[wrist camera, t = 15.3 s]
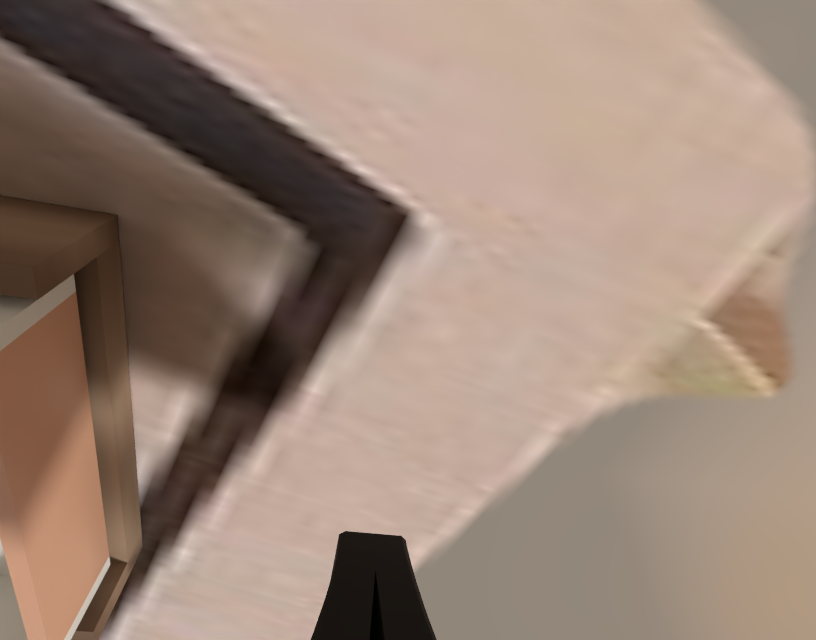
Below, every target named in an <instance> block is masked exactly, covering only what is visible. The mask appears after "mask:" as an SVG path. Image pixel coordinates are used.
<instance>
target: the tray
mask: <svg viewBox="0 0 816 640" xmlns="http://www.w3.org/2000/svg"><path fill="white" fill-rule="evenodd" d="M109 566H110V558H109V550H108V542H107V534H106V526H105V518H104V510H103V502H102V494H101V486H100V478H99V470H98V462H97V454H96V446H95V438H94V430H93V422H92V414H91V406H90V399H89V391H88V383H87V375H86V367H85V359H84V351H83V343H82V335H81V327H80V319H79V311H78V303H77V295H76V287H75V279H74V274H73V275H71V276H70V277H69V278H67V279H66V280H65V281H63V282H62V283H60V284H59V285H58V286H56V287H55V288H54V289H52V290H51V291H49V292H48V293H47V294H45V295H44V296H43V297H41V298H40V299H38V300H36V299H29V298H22V297H15V296H8V295H1V294H0V640H71V639H72V637H73V635H74V633H75V631H76V629H77V627H78V625H79V623H80V621H81V620H82V618H83V616H84V614H85V612H86V610H87V608H88V606H89V604H90V602H91V601H92V599H93V597H94V595H95V593H96V591H97V589H98V587H99V585H100V583H101V582H102V580H103V578H104V576H105V574H106V572H107V570H108V568H109Z"/></svg>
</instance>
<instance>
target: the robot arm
mask: <svg viewBox="0 0 816 640" xmlns="http://www.w3.org/2000/svg"><path fill="white" fill-rule="evenodd" d="M311 640H436V637H435V635H434V632H433V629H432V627H431V624H430V621H429V619H428V616H427V613H426V610H425V607H424V604H423V601H422V598H421V595H420V592H419V589H418V586H417V583H416V579H415V576H414V572H413V569H412V565H411V562H410V558H409V554H408V550H407V545H406V540H405V539H404V538H403V537H402V536H395V535H383V534H371V533H359V532H348V531H345V532H343V533H341V534H339V539H338V544H337V549H336V555H335V560H334V566H333V571H332V576H331V581H330V585H329V588H328V591H327V595H326V598H325V601H324V604H323V607H322V610H321V612H320V615H319V618H318V621H317V624H316V627H315V630H314V633H313V635H312V638H311Z"/></svg>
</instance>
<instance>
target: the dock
mask: <svg viewBox="0 0 816 640" xmlns="http://www.w3.org/2000/svg"><path fill="white" fill-rule="evenodd" d="M73 274H74V279H75V287H76V295H77V303H78V311H79V319H80V327H81V335H82V343H83V351H84V359H85V367H86V375H87V383H88V391H89V399H90V406H91V414H92V422H93V430H94V438H95V446H96V454H97V462H98V470H99V478H100V486H101V494H102V502H103V510H104V518H105V526H106V534H107V542H108V550H109V558H110V566H109V568H108V570H107V572H106V574H105V576H104V578H103V580H102V582H101V583H100V585H99V587H98V589H97V591H96V593H95V595H94V597H93V599H92V601H91V602H90V604H89V606H88V608H87V610H86V612H85V614H84V616H83V618H82V620H81V621H80V623H79V625H78V627H77V629H76V631H75V633H74V635H73V637H72V639H71V640H98V639H99V637H100V635H101V633H102V630H103V628H104V626H105V624H106V622H107V620H108V618H109V616H110V614H111V612H112V610H113V608H114V605H115V603H116V601H117V599H118V597H119V595H120V593H121V591H122V589H123V587H124V585H125V583H126V580H127V578H128V576H129V574H130V572H131V570H132V568H133V566H134V564H135V562H136V560H137V558H138V555H139V553H140V551H141V549H142V547H143V544H142V531H141V518H140V505H139V492H138V480H137V467H136V454H135V441H134V428H133V415H132V402H131V389H130V376H129V363H128V350H127V337H126V324H125V311H124V298H123V285H122V272H121V259H120V247H119V234H118V221H117V215H113V214H107V213H101V212H95V211H89V210H83V209H77V208H71V207H65V206H59V205H53V204H47V203H41V202H35V201H29V200H23V199H17V198H11V197H5V196H0V294H1V295H8V296H15V297H22V298H29V299H36V300H38V299H40V298H41V297H43V296H44V295H45V294H47V293H48V292H49V291H51V290H52V289H54V288H55V287H56V286H58V285H59V284H60V283H62V282H63V281H65V280H66V279H67V278H69V277H70V276H71V275H73Z"/></svg>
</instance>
